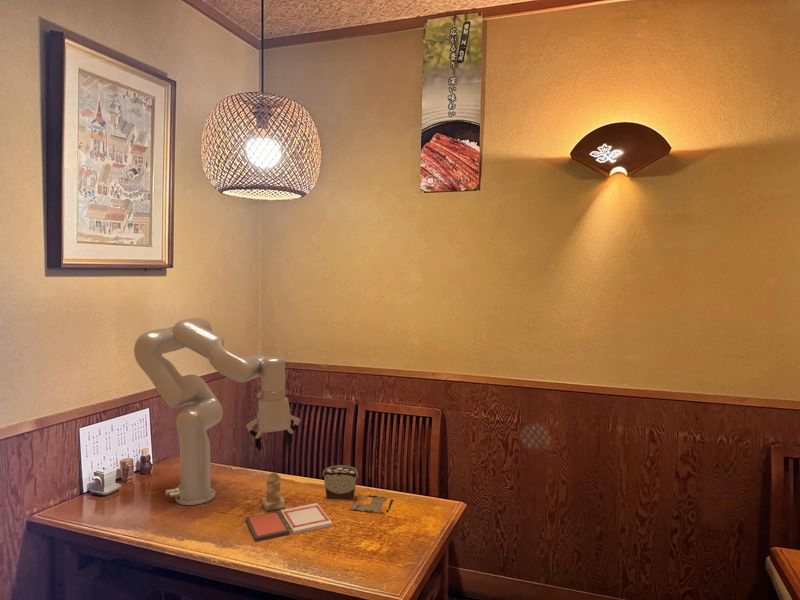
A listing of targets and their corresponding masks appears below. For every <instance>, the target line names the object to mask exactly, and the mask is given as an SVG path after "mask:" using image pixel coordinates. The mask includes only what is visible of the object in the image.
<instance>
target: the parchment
mask: <svg viewBox="0 0 800 600" xmlns="http://www.w3.org/2000/svg"><path fill="white" fill-rule="evenodd" d="M359 498H363V500H368V499H369V498H371V500H370V502H369V503H366V504H363V502H357V500H358V499H359ZM387 501H388V498H387V497H386V496H385V497H384V496H381V497H380V496H378V495H369V494H368V495H365V494H357V496H356V498H354V501H353V504H352V506H351V507H350V508H349V509H350V510H351V511H353V510H357V511H361V512H365V513H370V512H372V513H379V514H383V515H385V512H386V513H388V512H389V509H390V508H391V505H392V502H393V501H394V499H391V498H390V501H389V504H388V509H385V512H383V505H384V503H386V502H387Z"/></svg>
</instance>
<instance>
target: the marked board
mask: <svg viewBox="0 0 800 600" xmlns="http://www.w3.org/2000/svg"><path fill="white" fill-rule="evenodd" d="M280 515H281V517H282V519H283V520H284V522H285V524H286V525H287V527H288V529H289V530H290V532H291V533H292V534H293V535H297V534H301V533H306V532H310V531H314V530H315V531H316V530H319V529H324V528H329V527H333V522H332V521H331V519H330V518H329V516H328V515H327V513H325V512H324V510H323V509H322V508H321V506H320V505H319V504H318V503H317V502H315V503H310V504H304V505H299V506H296V507H291V508H290V507H289V508H285V509H282V510H280Z"/></svg>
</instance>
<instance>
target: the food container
mask: <svg viewBox="0 0 800 600" xmlns="http://www.w3.org/2000/svg"><path fill="white" fill-rule="evenodd" d="M321 476H322V477H323V479H324V490H325V498H326V500H327V501H328V500H329V501H345V502H354V501H355V495H356V484H357V478H359V473H358V470H357V469H356V468H355V467H353V466H351V465H344V464H342V465H341V464H339V465H332V466H328V467H326V468H325V469H323V471H322V474H321Z"/></svg>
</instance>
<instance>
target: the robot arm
mask: <svg viewBox="0 0 800 600" xmlns="http://www.w3.org/2000/svg"><path fill="white" fill-rule="evenodd" d="M224 345H225V339H224V337H223V336H222V335H220V334H219V333H216V332H214V331H213V328H212V325H211V323H210V321H208V320H207V319H205V318H203V317H193V318H186V319H182V320H179V321H177V322H176V323H175V325H173V326H170V327H165V328H158V329H153V330H149V331H146V332H143V333H142V334H141V335H139V337H137V339H136V341H135V343H134V346H133V347H134V348H133V354H134V359H135V360H136V364H137V365H138V366H139V367H140V369H141V370H142V372H143V373H145V374H146V377H148V378H149V380H150V381H151V383H152V385H153V386H154V387H155V389H156V390H157V391H158V393H159V395H160V396H161V397H162V399H163V400H164V402H165V403H166V404H167V405H168V406H169V407H171V408H173V409H174V408H175V409H176V408H179V407H183V406H185V405H188V404H189V406H187V407H185V408H184V409H182V410H181V411H180V413H179V414H178V416H177V418H176V421H175V422H176V423H175V425H176V430H177V434H178V441H179V468H180V469H179V477H180V483H179V484H178V486H177V487H175V488H169V489H165V496H166V497H167V496H169V497H170V498H173V497H175V501H176V503H177V504H179V505H183V506H196V505H197V506H198V505H201V504H204V503H208V502H209V501H212V500H213V499H214V498H215V497H216V490H215V489H214V488H213V487H211V443H210V439H209V437H208V434H207V430H208V429H210V428H212V427H214V426H215V425H218V424H219V423H220V422H221V420H222V418H223V415H224V409H223V407H222V404H221V403H220V400H218V398H217V397H216V396H215V394H214V393H213V391H212V389H211V388H210V386H209V385H208V384H207V383H206V381H205V380H204V378H202V377H201V376H199V375H197V374H187V375H181V374H180V371H178V370H177V367H176V366H175V365H174V364H173V363H172V362H171V361H169V360H168V359H167V358H166V357H164V354H167V353H171V352H176V351H180V350H182V349H185V348H187V349H188V350H190V351H192V352H195V353H196V354H198V355H200V356H202V357H203V358H205V359H207V360H208V362H209V364H210V365H211V367H213V369H214V370H215V371H217V372H218V373H219V374H221V375H222V376H224V377H226V378H228V379H230V380H232V381H234V382H239V383H247V382H249V381H250V380H253V379H256V378H260V384H261V385H260V387H261V388H260V392H257V393H256V398H260V399H259V401H258V405H257V413H256V414H257V415H256V418H255V419H253V420H252V421H250V422H248V423H247V424H246V425H245V427H246V430H248V432H249V434H250V435H252V436H253V437H254V447H255V448H256V449H257V451H258V452H260V451H262V438H261V435H263V433H265V434H266V433H272V432H280V431H286V432H285V444H286V445H287V447H291V446H292V445H291V444H292V443H293V434H294V432H295V431H296V430H297V428H298V426H299V424H300V421H301V419H300V418H299V417H297V416H295V415H292V414H291V410H290V402H289V398H288V397H286V360H285V358H284V357H282V356H273V355H272V356H271V355H270V356H267V355H262V354H258V353H257V354H256V353H255V354H254V353H253V354H250V355H247V356H243V357H239V356H237V355H235V354H233V353H232V352H230V351H228V350H226V349H225V348H224V347H225V346H224ZM292 421H294V422H293V424H292ZM255 425H256V428H257V429H256V430H254V429H253V427H254V426H255Z"/></svg>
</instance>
